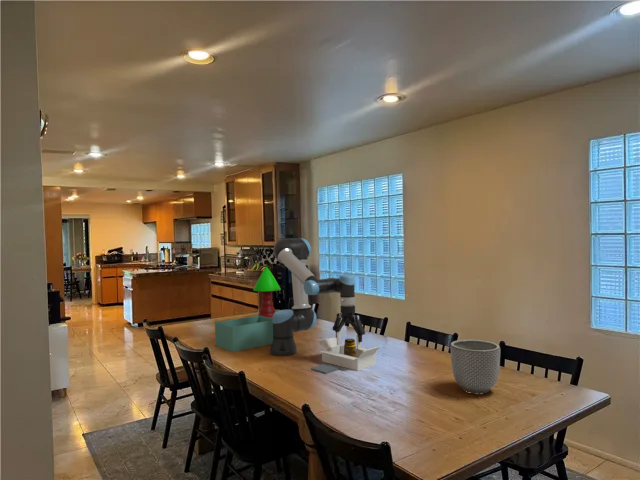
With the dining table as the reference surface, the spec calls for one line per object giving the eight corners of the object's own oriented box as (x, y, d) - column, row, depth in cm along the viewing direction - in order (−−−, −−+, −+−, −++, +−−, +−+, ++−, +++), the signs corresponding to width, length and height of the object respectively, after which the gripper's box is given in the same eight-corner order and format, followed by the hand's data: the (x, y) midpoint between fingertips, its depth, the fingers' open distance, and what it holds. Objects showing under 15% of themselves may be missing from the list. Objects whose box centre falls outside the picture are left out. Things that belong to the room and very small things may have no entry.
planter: (495, 402, 172) (495, 353, 172) (445, 393, 182) (444, 347, 182) (504, 387, 189) (504, 342, 188) (457, 379, 199) (457, 337, 199)
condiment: (359, 363, 228) (359, 339, 228) (346, 366, 223) (345, 342, 223) (350, 360, 234) (350, 337, 234) (337, 362, 229) (337, 339, 229)
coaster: (311, 369, 218) (311, 368, 218) (325, 365, 225) (325, 363, 225) (325, 373, 211) (325, 372, 211) (339, 369, 218) (339, 367, 218)
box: (215, 346, 270) (214, 322, 269) (259, 337, 291) (259, 315, 290) (232, 352, 254) (232, 327, 254) (278, 342, 275) (277, 319, 275)
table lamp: (257, 326, 325) (256, 265, 325) (284, 326, 322) (283, 265, 322) (250, 332, 306) (248, 267, 305) (278, 332, 303) (276, 266, 302)
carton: (313, 361, 232) (313, 342, 232) (339, 353, 247) (339, 335, 247) (359, 373, 211) (358, 352, 210) (384, 364, 225) (384, 344, 225)
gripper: (325, 304, 234) (326, 344, 234) (361, 308, 217) (363, 351, 217) (334, 302, 240) (336, 341, 240) (371, 306, 222) (372, 348, 222)
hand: (348, 346), depth 228 cm, fingers open, 13 cm apart
